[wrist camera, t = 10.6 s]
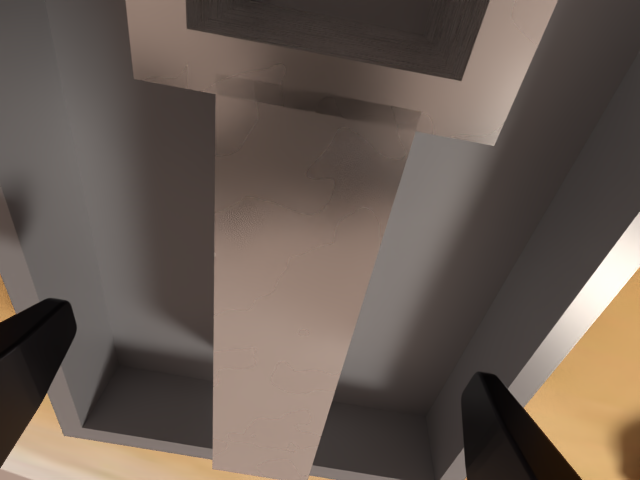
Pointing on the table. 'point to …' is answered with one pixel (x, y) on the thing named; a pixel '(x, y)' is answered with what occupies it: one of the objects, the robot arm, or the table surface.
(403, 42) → the square nut with handle
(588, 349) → the table surface
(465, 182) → the tray
